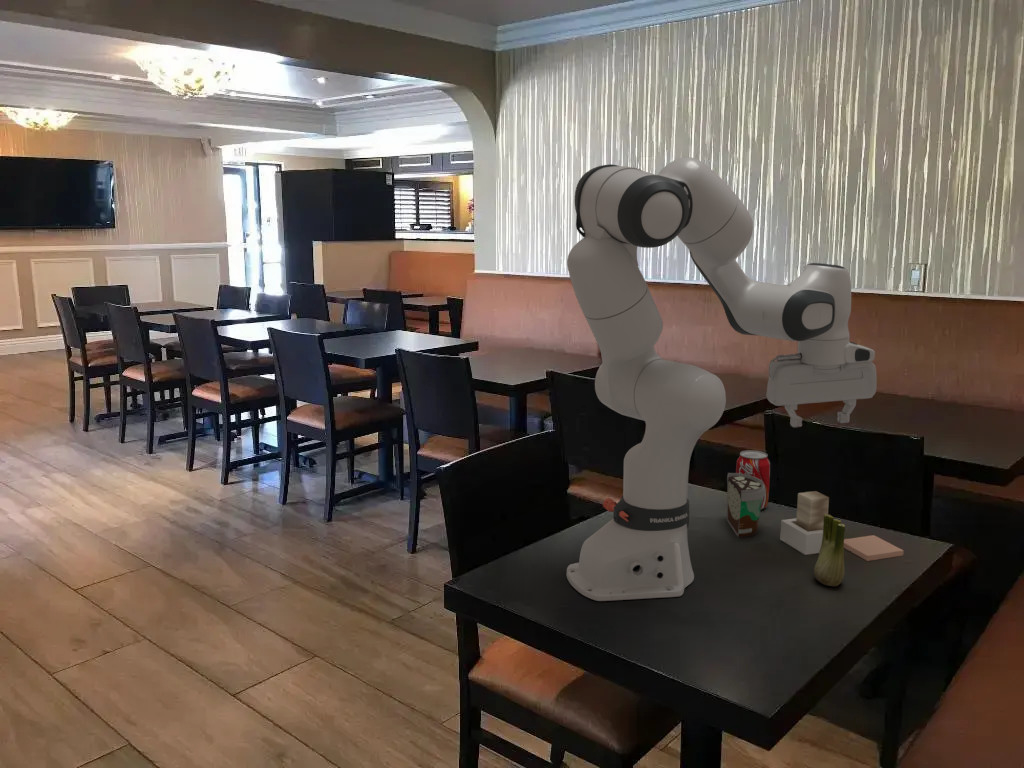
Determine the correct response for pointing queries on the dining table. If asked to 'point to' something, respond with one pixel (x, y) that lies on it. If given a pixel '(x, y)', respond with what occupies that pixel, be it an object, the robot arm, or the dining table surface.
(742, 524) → the food container
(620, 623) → the dining table surface
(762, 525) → the dining table surface
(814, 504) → the ash peg
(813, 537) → the pocket collar
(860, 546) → the terracotta tile
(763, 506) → the soda can
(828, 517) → the fennel bulb
